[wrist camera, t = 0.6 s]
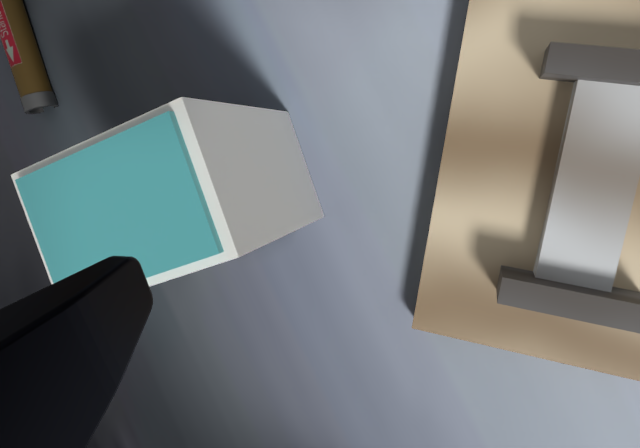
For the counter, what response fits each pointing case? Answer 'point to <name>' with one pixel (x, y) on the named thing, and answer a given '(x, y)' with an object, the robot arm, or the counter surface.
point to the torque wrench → (24, 58)
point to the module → (170, 190)
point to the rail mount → (541, 186)
